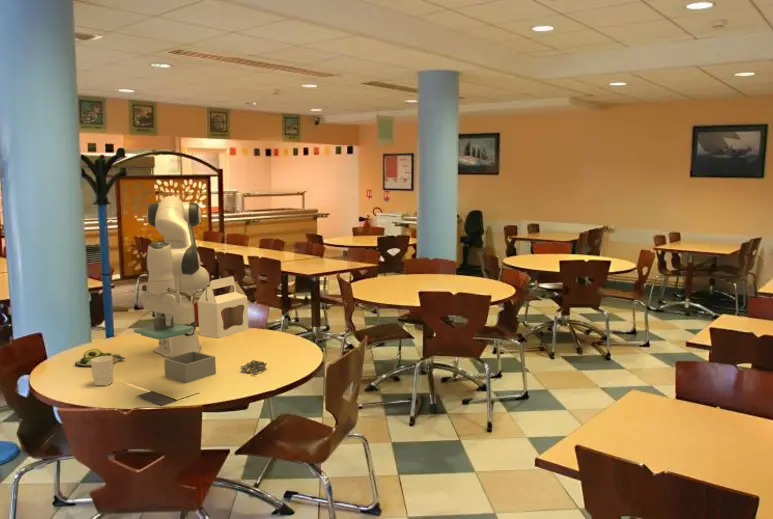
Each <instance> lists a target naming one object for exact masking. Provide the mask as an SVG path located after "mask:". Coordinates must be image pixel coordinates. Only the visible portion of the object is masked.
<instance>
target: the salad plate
mask: <svg viewBox="0 0 773 519" xmlns="http://www.w3.org/2000/svg"><path fill="white" fill-rule="evenodd" d="M82 356H83V357H82V358H79V359H77V360H76V361H75V362H74V365H76V366H77V365H78V366H77V367H79V366H91V359H93V358H96V357H100V356H111V357H113V363H114V364H116V363H117V361H118V362H119V361H122V360H125V359H126V358H125V357H123V356H122V355H121V354H119V353H112V352H102V351H101V350H100V349H97V348H92V349H88V350H87V351H85V352H84V353H83V355H82ZM115 362H116V363H115Z"/></svg>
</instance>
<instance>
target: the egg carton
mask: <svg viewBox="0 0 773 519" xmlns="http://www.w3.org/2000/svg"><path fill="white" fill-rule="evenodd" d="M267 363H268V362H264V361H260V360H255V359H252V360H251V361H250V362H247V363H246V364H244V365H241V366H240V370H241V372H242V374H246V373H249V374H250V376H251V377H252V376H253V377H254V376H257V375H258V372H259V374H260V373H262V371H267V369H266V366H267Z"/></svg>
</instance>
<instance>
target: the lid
mask: <svg viewBox="0 0 773 519" xmlns="http://www.w3.org/2000/svg"><path fill="white" fill-rule="evenodd" d="M165 320H166V317H165V315H164V316H161V317H159V318H156V317H155V318H153V325H150V326H144V327H140V328H135V329H133V333H135V334H138V335H140V336H142V337H147V338H151V339H155V340H158V341H159V340H161V339H166V338H170V337H174V336H178V335H183V334H187V333H188V331H191V330H194V327H191V326H186V325H182V324H177V323H173V317H172V319H171V325H170V326H165V325H164V321H165Z"/></svg>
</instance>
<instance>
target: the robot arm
mask: <svg viewBox="0 0 773 519" xmlns="http://www.w3.org/2000/svg"><path fill="white" fill-rule="evenodd" d="M146 220H147V221H148V224H149V225H150V226H151V227H154V228H155V229H156V231H157V232H158V233H159V234H160V235H161V236H163V237H164V241H155V242H151V243H150V244H148V246H147V254H146V258H145V265H146V270H147V271H148V279H147V281H148V282H146V283H143V284H142V285H140V290H141V292H142V293H141V301H142V302H141V303H142V307H143V310H145V311H149V312H153V313H154V317H155V318H159V317H162V314H163V315H164V316H165V317H166V320H165V321H164V325H165V326H170V325H171V319H172V317H173V323H177V324H182V325H186V326H191V327H194V330H191V331H188V333H187V334H183V335H178V336H174V337H170V338H166V339H161V340H158V346H157V347H156V346H155V347H154V348H153V351H154V352H155V353H157V354H159V355H161V356H163V357H165V358H169V357H173V356H177V355H180V354H184V353H188V352H192V351H196V352H200V351H201V349H202V348H203V347H202V345H200V339H199V332H198V330H196V329H197V323H196V322H197V321H196V320H195V307H194V304H193V302H192V301H190V300H188V299H185V298H183V297H182V296H181V294H180V293H183V292H197V291H200V290H205V289H206V288H207V287H208V286H209V285H208V283H209V282H210V274H209V272H208V270H207V269H206V268H205V267H203V266H201V257H200V254H199V251H198V249H197V244H196V238H195V234H194V229H193V228H194V227H197V226H198V225H199V224H200V222H201V220H202V210H201V208H200V206H199V204H198V203H196V202H191V201H190V202H188V201H187V202H186V201H182V199H180V198H179V197H178V196H176V195H168V196H167V195H166V196H165V197H163V198H162V199H161V200H160V202H152V203H151V204H150V205H148V208H147V211H146Z"/></svg>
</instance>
